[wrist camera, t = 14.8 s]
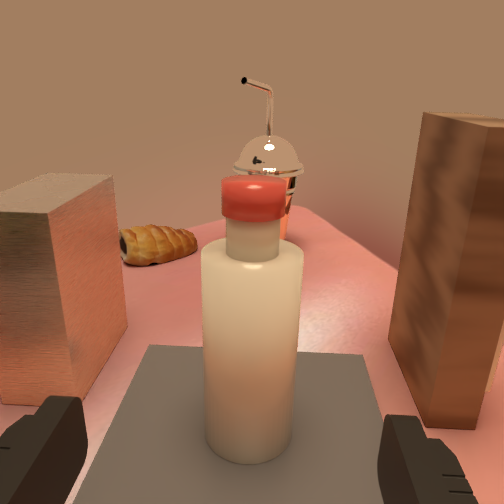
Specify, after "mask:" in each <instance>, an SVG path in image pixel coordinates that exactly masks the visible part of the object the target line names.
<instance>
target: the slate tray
mask: <svg viewBox="0 0 504 504" xmlns="http://www.w3.org/2000/svg"><path fill="white" fill-rule="evenodd" d="M383 424H384V423H383V420H382V417H381V413H380V410H379V407H378V404H377V400H376V397H375V394H374V391H373V387H372V384H371V381H370V378H369V374H368V371H367V368H366V365H365V361H364V358H363V355H355V354H334V353H313V352H297V361H296V375H295V390H294V404H293V418H292V433H291V439H290V442H289V444H288V446H287V448H286V449H285V450H284V451H283V452H282V453H281V454H280V455H279V456H277V457H276V458H274V459H272V460H269V461H267V462H264V463H259V464H238V463H234V462H231V461H228V460H226V459H223V458H222V457H220V456H218V455H217V454H216V453H215V452H214V451H213V450H212V449H211V448H210V447H209V445H208V443H207V441H206V438H205V426H204V378H203V347H188V346H167V345H149V346H148V348H147V350H146V352H145V355H144V357H143V359H142V361H141V363H140V365H139V367H138V369H137V371H136V373H135V375H134V377H133V379H132V381H131V384H130V386H129V388H128V390H127V392H126V394H125V396H124V398H123V400H122V402H121V404H120V406H119V408H118V410H117V413H116V415H115V417H114V419H113V421H112V423H111V425H110V427H109V429H108V431H107V433H106V435H105V437H104V439H103V442H102V444H101V446H100V448H99V450H98V452H97V454H96V456H95V458H94V460H93V462H92V464H91V466H90V468H89V471H88V473H87V475H86V477H85V479H84V481H83V483H82V485H81V487H80V489H79V491H78V493H77V495H76V497H75V500H74V502H73V504H384V503H383V499H382V495H381V491H380V487H379V482H378V474H377V459H378V453H379V447H380V441H381V436H382V430H383Z"/></svg>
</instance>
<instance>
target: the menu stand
mask: <svg viewBox="0 0 504 504" xmlns="http://www.w3.org/2000/svg"><path fill="white" fill-rule="evenodd" d="M388 340H389V342H390V344H391V347H392V349H393V352H394V354H395V356H396V359H397V361H398V363H399V366H400V368H401V370H402V373H403V375H404V378H405V380H406V382H407V385H408V387H409V389H410V392H411V394H412V396H413V399H414V401H415V403H416V406H417V408H418V411H419V413H420V415H421V418H422V420H423V422H424V425H425V427H434V428H452V429H470V430H475V427H476V423H477V420H478V416H479V412H480V408H481V405H482V401H483V397H484V393H485V392H490V390H491V386H492V383H493V379H494V375H495V372H496V368H497V364H498V360H499V357H500V353H501V349H502V346H503V342H504V120H503V119H498V118H493V117H487V116H481V115H476V114H471V113H444V112H442V113H441V112H423V117H422V124H421V130H420V136H419V142H418V149H417V156H416V162H415V168H414V175H413V181H412V188H411V194H410V200H409V207H408V213H407V220H406V226H405V232H404V239H403V246H402V252H401V258H400V265H399V271H398V277H397V284H396V290H395V297H394V303H393V309H392V316H391V322H390V329H389V335H388Z"/></svg>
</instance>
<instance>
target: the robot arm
mask: <svg viewBox="0 0 504 504" xmlns="http://www.w3.org/2000/svg"><path fill="white" fill-rule="evenodd" d="M87 449H88V439H87V432H86V426H85V419H84V413H83V406H82V401H81V399H80V398H79V397H74V396H55V395H50V396H48V397H47V398H46V399H45V400H44V402H43V403H42V405H41V406H40V407H39V409H38V410H37V412H36V413H35V414H34V415H24V416H23V417H22V418H20V419H19V420H18V421H17V422H15V423H14V424H13V425H11V426H10V427H9V428H7V429H6V430H5V432H4V433H3V434H2V436H1V437H0V504H64V503H65V501H66V499H67V497H68V495H69V493H70V491H71V489H72V487H73V485H74V483H75V481H76V479H77V477H78V475H79V473H80V471H81V469H82V467H83V465H84V462H85V459H86V455H87ZM377 474H378V482H379V487H380V491H381V495H382V499H383V503H384V504H478V502H477V500H476V497H475V496H473V491H472V489H471V487H470V485H469V483H468V480H467V479H465V474H464V472H463V470H462V468H461V466H460V463H459V461H458V459H457V457H456V456H455V454H454V453H453V452H452V451H451V450H450V449H449V448H448V447H447V446H446V445H445V444H444V443H443V442H442V441H441V440H440V439H432V438H427V437H426V435H425V432H424V430H423V427H422V425H421V423H420V420H419V419H418V417H417V416H407V415H389V414H387V415H386V416H385V419H384V424H383V430H382V436H381V441H380V447H379V453H378V459H377Z"/></svg>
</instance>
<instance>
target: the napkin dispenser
mask: <svg viewBox="0 0 504 504" xmlns="http://www.w3.org/2000/svg"><path fill="white" fill-rule="evenodd" d="M127 327H128V326H127V315H126V305H125V295H124V285H123V274H122V264H121V254H120V243H119V233H118V223H117V213H116V203H115V193H114V182H113V175H97V174H96V175H95V174H63V173H46V174H44V175H41V176H39V177H36V178H34V179H32V180H29V181H26V182H24V183H22V184H19V185H17V186H14V187H12V188H9V189H7V190H5V191H2V192H0V396H1V400H2V404H16V405H34V406H41V405H42V403H43V402H44V400H45V399H46V398H47V397H48V396H50V395H55V396H74V397H79V398H80V399H81V401H83V399H84V398H85V396H86V394H87V393H88V391H89V389H90V388H91V386H92V384H93V383H94V381H95V379H96V378H97V376H98V374H99V373H100V371H101V369H102V368H103V366H104V364H105V363H106V361H107V360H108V358H109V356H110V355H111V353H112V351H113V350H114V348H115V346H116V345H117V343H118V341H119V340H120V338H121V336H122V335H123V333H124V331H125V330H126V328H127Z"/></svg>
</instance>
